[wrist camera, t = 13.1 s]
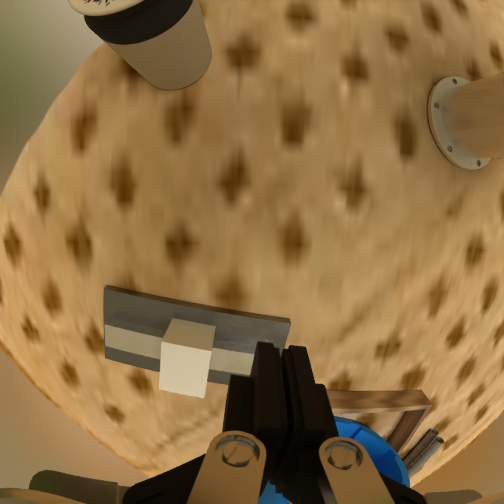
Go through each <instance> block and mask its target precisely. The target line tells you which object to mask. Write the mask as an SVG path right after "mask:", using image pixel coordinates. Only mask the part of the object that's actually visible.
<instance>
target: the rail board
mask: <svg viewBox="0 0 504 504" xmlns="http://www.w3.org/2000/svg"><path fill="white" fill-rule="evenodd" d="M172 318H176V319H181V320H186V321H191V322H196V323H201V324H207V325H212V326H216V328H215V334H214V340H213V346H212V352H211V358H210V365H209V372H208V378H207V381H208V382H214V383H220V384H226V385H229V381H230V375H231V374H233V375H240V376H247V377H250V373H251V368H252V364H253V359H254V354H255V349H256V345H257V341H262V342H270V343H274V347H276V348H279V350H280V357H281V353H282V350H283V348H284V347H285V343H286V340H287V336H288V332H289V328H290V325H291V322H290V319H287V318H280V317H273V316H267V315H260V314H254V313H247V312H241V311H235V310H229V309H223V308H217V307H212V306H206V305H201V304H195V303H190V302H185V301H179V300H174V299H169V298H164V297H159V296H155V295H150V294H145V293H140V292H136V291H131V290H126V289H122V288H118V287H113V286H109V285H107V286H106V287H105V288H104V343H105V358H106V359H110V360H113V361H117V362H121V363H124V364H128V365H132V366H136V367H140V368H144V369H148V370H153V371H157V372H160V359H161V343H162V340H163V337H164V335H165V333H166V331H167V329H168V327H169V325H170V322H171V320H172Z"/></svg>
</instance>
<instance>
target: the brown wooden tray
mask: <svg viewBox="0 0 504 504" xmlns="http://www.w3.org/2000/svg"><path fill="white" fill-rule="evenodd" d="M326 391H327V394H328V398H329V401H330V405H331V408H332V412H333V413H377V412H396V411H406V412H405V414H404V416H403V417H402V419H401V421H400V422H399V424H398V426H397V427H396V429H395V430H394V432H393V434H392V435H391V437H390V438H389V440H388V441H387V443H389V444H390V445H391V447H392V448H393V449H394V450H395V451H396V452H397V454H398V455H400V453H401V452H402V451H403V449H404V448H405V446H406V445H407V444H408V442H409V441H410V439H411V438H412V436H413V435H414V433H415V432H416V430H417V429H418V427H419V426H420V424H421V422H422V421H423V419H424V418H425V416H426V414H427V413H428V411H429V409H430V408H431V406H432V403H431V402H430V401H429V399H428V398H427V397H426V395H425V394H424V393H423V391H422V390H409V391H335V390H326Z"/></svg>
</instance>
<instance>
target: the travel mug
mask: <svg viewBox="0 0 504 504" xmlns="http://www.w3.org/2000/svg"><path fill="white" fill-rule="evenodd" d="M68 1H69V4H70V6H71V7H72V8H73V9H74V10H75V11H77V12H78V13H80V14H83V15H84V19H85V22H86V24H87V26H88V27H89V28H90V29H91V30H92V31H93V32H94V33H95V34H97V35H98V36H99V37H100V38H101V39H102V40H103V41H104V42H106V43H107V44H108V45H109V46H110V47H111V48H112V49H113V50H114V51H115V52H117V53H118V54H119V55H120V56H121V57H122V58H123V59H124V60H125V61H126V62H127V63H129V64H130V65H131V66H132V67H133V68H134V69H135V70H136V71H137V72H138V73H139V74H140V75H141V76H143V77H144V78H145V79H146V80H147V81H148V82H149V83H150V84H151V85H153V86H155V87H157V88H160V89H165V90H175V89H180V88H184V87H186V86H189V85H191V84H192V83H194V82H195V81H197V80H198V79H199V78H200V77H201V76H202V75H203V74H204V73H205V72H206V70H207V68H208V66H209V64H210V61H211V55H212V54H211V47H210V43H209V39H208V35H207V32H206V28H205V24H204V20H203V16H202V13H201V9H200V5H199V1H198V0H68Z"/></svg>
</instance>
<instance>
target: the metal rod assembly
mask: <svg viewBox="0 0 504 504" xmlns="http://www.w3.org/2000/svg"><path fill="white" fill-rule="evenodd" d="M438 434H439V433H438V431H437V430H436V429H433V430H432V431H431V430H430V431H429V432H428V433H427V434H426V435H425V437H424V438H423V439H422V440H421V441H420V442H419V444H418V445H417V446H416V447H415V448H414V449H413V450H412V451H411V452H410V454H409V455H408V456H407V457H406V458H405V459H404V460H403V463H404V465H405V467H406V469H407V472H408V475H409V479H410V478H411V477H412V476H413V475H414V474H415V473H416V472H417V471H418V470H419V469H420V468H421V467H422V466H423V465H424V464H425V463H426V462H427V461H428V459H429V458H430V457H431V456H432V455H433V454H434V453H435V452H436V451H437V450H438V449H439V447H440V446H441V445H442V444H443V443H444V440H443V439H442V438H441V437H436V436H437V435H438ZM434 439H435V440H434ZM433 440H434V441H433ZM432 441H433V442H432ZM431 442H432V443H431ZM430 443H431V444H430ZM429 444H430V445H429ZM426 448H427V449H426ZM425 449H426V450H425ZM424 450H425V451H424ZM423 451H424V452H423ZM422 452H423V453H422ZM421 453H422V454H421ZM420 454H421V455H420Z"/></svg>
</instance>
